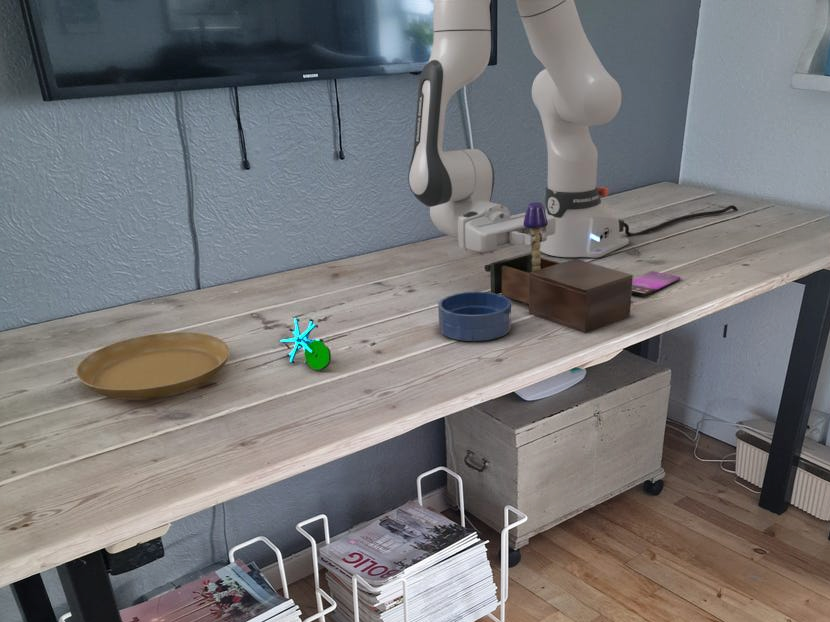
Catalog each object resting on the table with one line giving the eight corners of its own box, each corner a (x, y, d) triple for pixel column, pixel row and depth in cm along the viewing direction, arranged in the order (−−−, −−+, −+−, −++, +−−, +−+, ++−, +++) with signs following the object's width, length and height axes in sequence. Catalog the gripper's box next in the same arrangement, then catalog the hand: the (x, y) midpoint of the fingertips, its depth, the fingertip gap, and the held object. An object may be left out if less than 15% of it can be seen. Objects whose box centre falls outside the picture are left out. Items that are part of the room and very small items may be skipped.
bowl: (478, 312, 170) (477, 287, 168) (525, 329, 162) (525, 303, 159) (424, 329, 163) (423, 303, 160) (471, 348, 154) (470, 321, 152)
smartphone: (613, 291, 179) (613, 286, 179) (651, 273, 189) (651, 269, 189) (644, 298, 175) (644, 293, 175) (681, 279, 185) (681, 275, 185)
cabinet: (528, 313, 169) (529, 272, 165) (573, 298, 176) (575, 258, 172) (584, 333, 160) (586, 289, 156) (629, 316, 167) (633, 274, 163)
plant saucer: (53, 407, 136) (47, 388, 134) (116, 348, 157) (112, 331, 155) (206, 408, 135) (202, 389, 133) (249, 349, 155) (246, 331, 154)
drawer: (476, 289, 179) (476, 258, 176) (516, 277, 186) (517, 247, 183) (537, 310, 168) (538, 278, 165) (578, 296, 174) (579, 265, 171)
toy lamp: (528, 294, 172) (530, 207, 164) (518, 287, 176) (519, 202, 167) (550, 290, 174) (553, 205, 165) (540, 284, 177) (542, 199, 169)
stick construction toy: (270, 345, 151) (294, 307, 149) (297, 355, 157) (320, 319, 155) (310, 382, 145) (335, 343, 144) (336, 391, 151) (361, 354, 150)
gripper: (527, 231, 185) (575, 245, 176) (453, 250, 174) (500, 265, 165) (527, 201, 182) (576, 213, 173) (452, 218, 171) (500, 231, 162)
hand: (538, 238), depth 169 cm, fingers closed on toy lamp
